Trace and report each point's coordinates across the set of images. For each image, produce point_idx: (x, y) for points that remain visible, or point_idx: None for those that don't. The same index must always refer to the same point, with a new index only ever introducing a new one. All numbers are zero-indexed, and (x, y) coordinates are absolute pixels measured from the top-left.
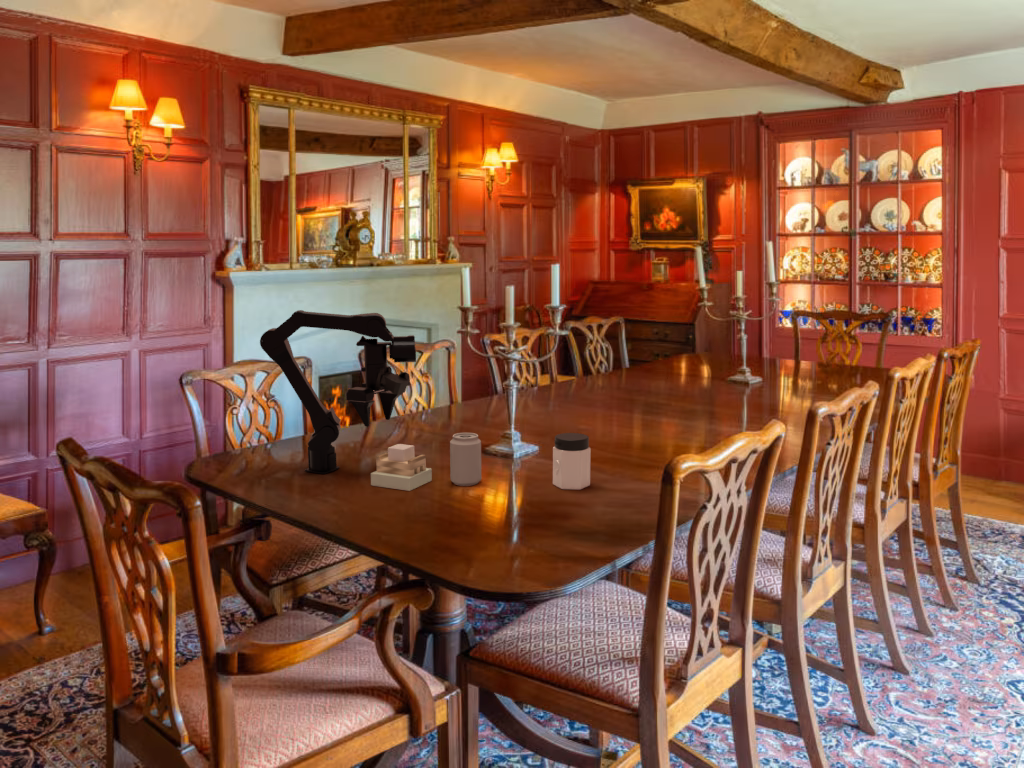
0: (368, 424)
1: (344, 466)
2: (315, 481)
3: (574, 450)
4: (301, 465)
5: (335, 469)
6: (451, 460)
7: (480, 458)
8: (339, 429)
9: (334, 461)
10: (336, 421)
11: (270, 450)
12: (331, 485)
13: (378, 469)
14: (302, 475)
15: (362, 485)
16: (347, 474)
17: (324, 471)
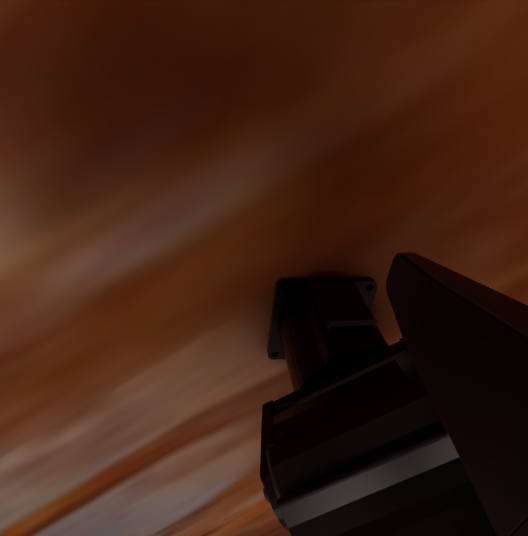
0: (426, 259)
1: (233, 285)
2: (464, 250)
3: None
4: (279, 397)
5: (308, 279)
6: None
7: None
8: (363, 416)
9: (333, 297)
10: (432, 469)
11: (166, 527)
12: (520, 163)
13: None
14: (394, 328)
15: (524, 16)
16: (346, 203)
17: (363, 289)
